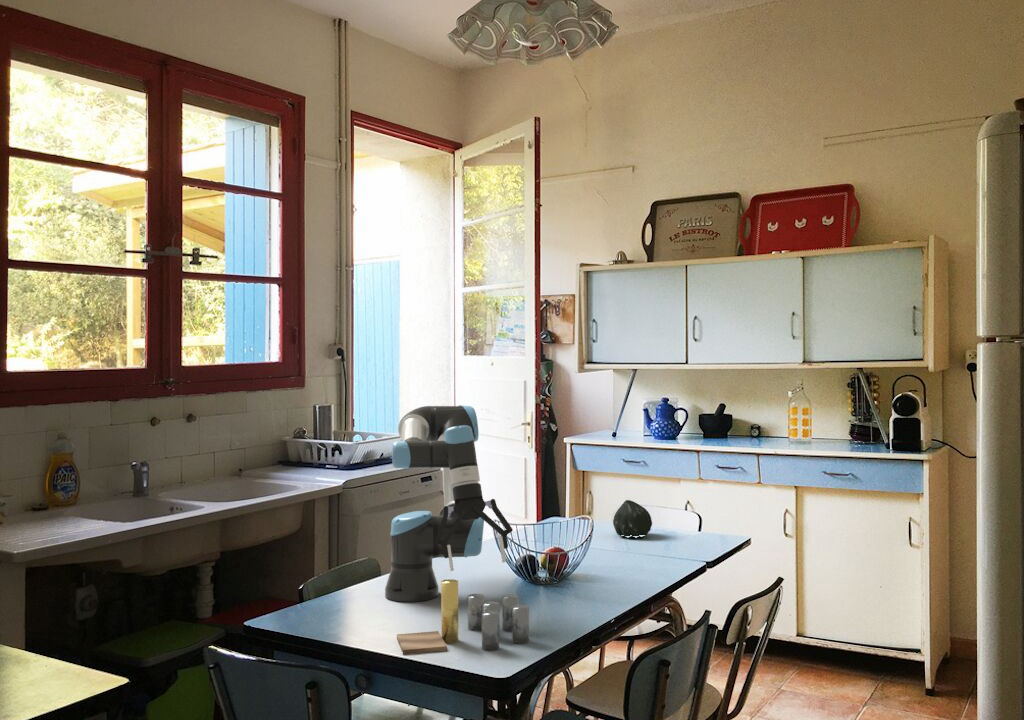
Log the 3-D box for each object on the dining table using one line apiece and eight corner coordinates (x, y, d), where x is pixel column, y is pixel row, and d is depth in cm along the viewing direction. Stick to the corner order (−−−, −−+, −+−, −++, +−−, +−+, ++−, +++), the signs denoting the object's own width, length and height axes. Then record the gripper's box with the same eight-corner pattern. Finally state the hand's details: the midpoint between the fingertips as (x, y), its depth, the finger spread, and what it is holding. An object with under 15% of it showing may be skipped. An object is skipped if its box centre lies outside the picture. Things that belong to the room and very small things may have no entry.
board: (396, 638, 208) (396, 634, 208) (438, 635, 211) (438, 631, 211) (403, 654, 197) (403, 649, 197) (446, 650, 199) (446, 646, 199)
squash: (657, 519, 339) (631, 490, 340) (660, 527, 324) (633, 497, 325) (630, 543, 340) (604, 514, 341) (631, 552, 325) (604, 522, 326)
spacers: (466, 626, 218) (466, 594, 218) (513, 622, 221) (512, 591, 221) (484, 651, 198) (483, 616, 198) (534, 647, 201) (534, 612, 201)
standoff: (440, 638, 208) (439, 580, 208) (456, 637, 209) (456, 578, 209) (443, 644, 204) (442, 583, 204) (460, 642, 205) (459, 582, 205)
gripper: (418, 490, 224) (430, 574, 219) (514, 475, 228) (527, 558, 223) (418, 493, 231) (429, 574, 226) (511, 479, 235) (524, 559, 230)
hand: (478, 566), depth 224 cm, fingers open, 13 cm apart
